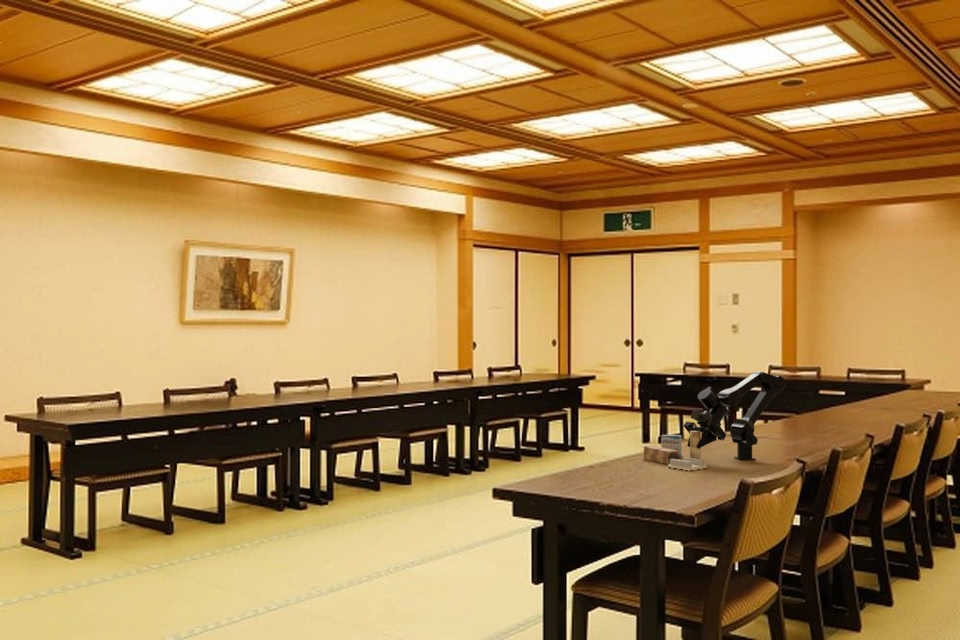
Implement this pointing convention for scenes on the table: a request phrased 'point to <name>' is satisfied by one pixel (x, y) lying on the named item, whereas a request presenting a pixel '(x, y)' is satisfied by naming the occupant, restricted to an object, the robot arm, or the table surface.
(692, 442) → the dowel
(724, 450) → the table surface
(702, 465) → the cradle
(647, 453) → the beam
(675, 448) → the medicine box
